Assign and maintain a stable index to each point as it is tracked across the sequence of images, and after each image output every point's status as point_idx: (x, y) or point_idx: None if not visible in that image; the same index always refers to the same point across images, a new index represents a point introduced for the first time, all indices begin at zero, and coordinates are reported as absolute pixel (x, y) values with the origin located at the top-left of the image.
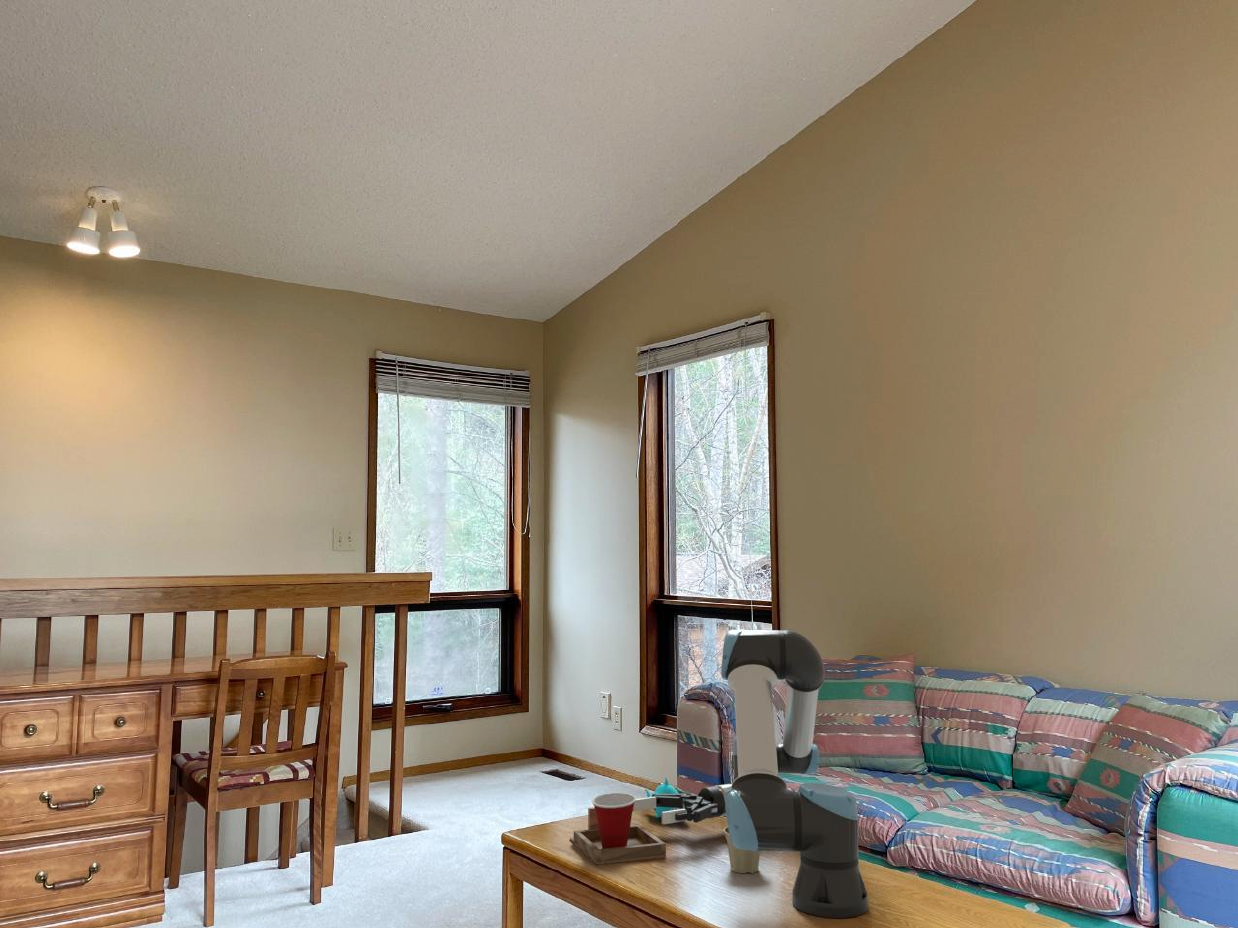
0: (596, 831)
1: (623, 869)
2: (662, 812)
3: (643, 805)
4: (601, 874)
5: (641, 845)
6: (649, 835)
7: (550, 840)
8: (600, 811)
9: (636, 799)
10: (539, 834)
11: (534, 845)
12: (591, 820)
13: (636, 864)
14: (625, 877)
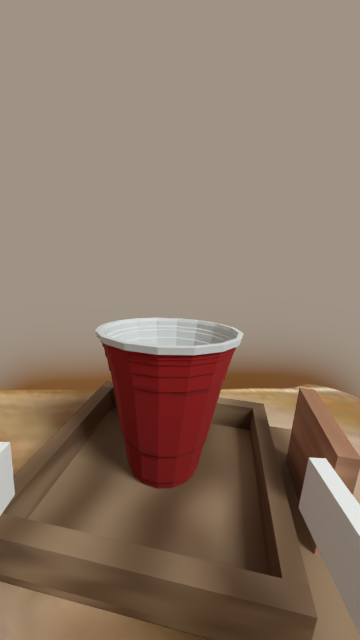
0: (257, 439)
1: (37, 422)
2: (2, 444)
3: (336, 552)
4: (57, 392)
5: (47, 452)
6: (111, 540)
7: (292, 411)
8: (156, 336)
9: (331, 475)
10: (341, 413)
11: (263, 389)
12: (295, 421)
13: (31, 453)
14: (3, 406)
